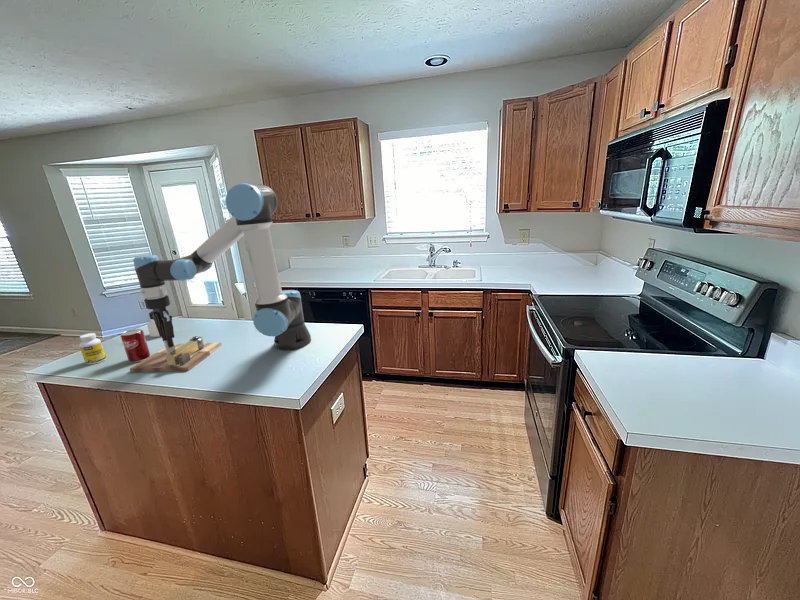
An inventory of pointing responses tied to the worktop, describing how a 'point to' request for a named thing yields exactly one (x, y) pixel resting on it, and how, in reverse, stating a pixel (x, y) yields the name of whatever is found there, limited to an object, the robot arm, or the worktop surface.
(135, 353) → the soda can
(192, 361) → the wooden cutting board
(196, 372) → the worktop surface
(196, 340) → the swing bar
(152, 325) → the medicine bottle
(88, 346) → the pill bottle
